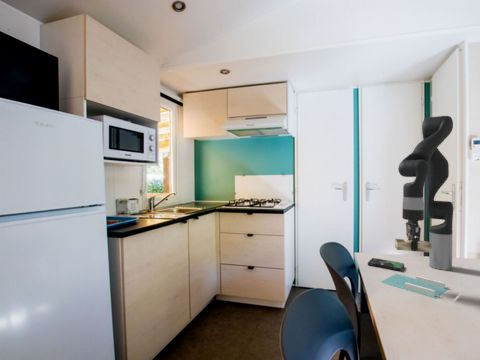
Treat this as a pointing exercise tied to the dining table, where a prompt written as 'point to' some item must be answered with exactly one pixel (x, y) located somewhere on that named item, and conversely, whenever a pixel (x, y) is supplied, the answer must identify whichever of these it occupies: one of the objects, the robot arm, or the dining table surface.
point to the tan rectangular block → (406, 245)
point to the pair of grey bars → (422, 289)
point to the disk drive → (386, 264)
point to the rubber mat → (401, 280)
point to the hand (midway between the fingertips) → (412, 249)
